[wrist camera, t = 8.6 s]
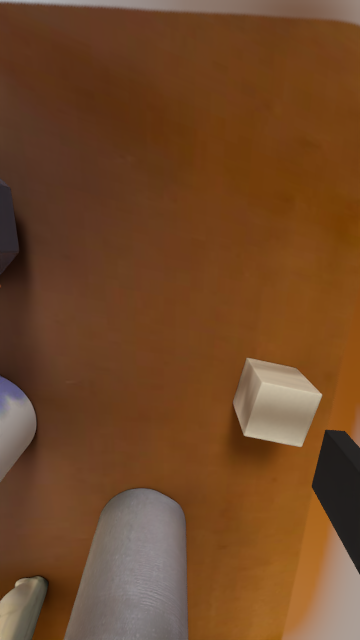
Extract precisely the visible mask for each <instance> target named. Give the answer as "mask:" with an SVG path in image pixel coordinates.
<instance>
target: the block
mask: <svg viewBox="0 0 360 640" xmlns="http://www.w3.org/2000/svg"><path fill="white" fill-rule="evenodd" d="M321 397H322V394H321V393H320V392H319V391H318V390H317V389H316V388H315V387H314V386H313V385H312V384H311V383H310V382H309V381H308V380H307V379H306V378H305V377H304V376H303V375H302V374H301V373H300V372H299V370H298V369H297V368H293V367H288V366H284V365H279V364H274V363H270V362H265V361H260V360H256V359H251V358H247V359H246V362H245V365H244V368H243V371H242V375H241V378H240V381H239V384H238V388H237V391H236V394H235V397H234V401H233V405H234V408H235V411H236V414H237V417H238V419H239V422H240V425H241V428H242V431H243V434H244V436H248V437H253V438H258V439H263V440H268V441H273V442H278V443H283V444H288V445H293V446H298V447H302V445H303V442H304V440H305V437H306V435H307V432H308V430H309V427H310V425H311V422H312V419H313V417H314V414H315V412H316V409H317V407H318V404H319V402H320V399H321Z"/></svg>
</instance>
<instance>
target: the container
mask: <svg viewBox="0 0 360 640" xmlns="http://www.w3.org/2000/svg"><path fill="white" fill-rule="evenodd" d="M35 431H36V415H35V411H34V408H33V406H32V404H31V402H30V400H29V399H28V397H27V396H26V395H25V394H24V392H23V391H22V390H21V389H20V388H19V387H17V386H16V385H15V384H13V383H12V382H10V381H9V380H7V379H5V378H3V377H1V376H0V482H1V480H2V479H3V478H4V477H5V475H6V474H7V473H8V471H9V470H10V469H11V467H12V466H13V465H14V464H15V462H16V461H17V460H18V458H19V457H20V456H21V454H22V453H23V452H24V451H25V449H26V448H27V447H28V445H29V444H30V443H31V441H32V439H33V437H34V435H35Z"/></svg>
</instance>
